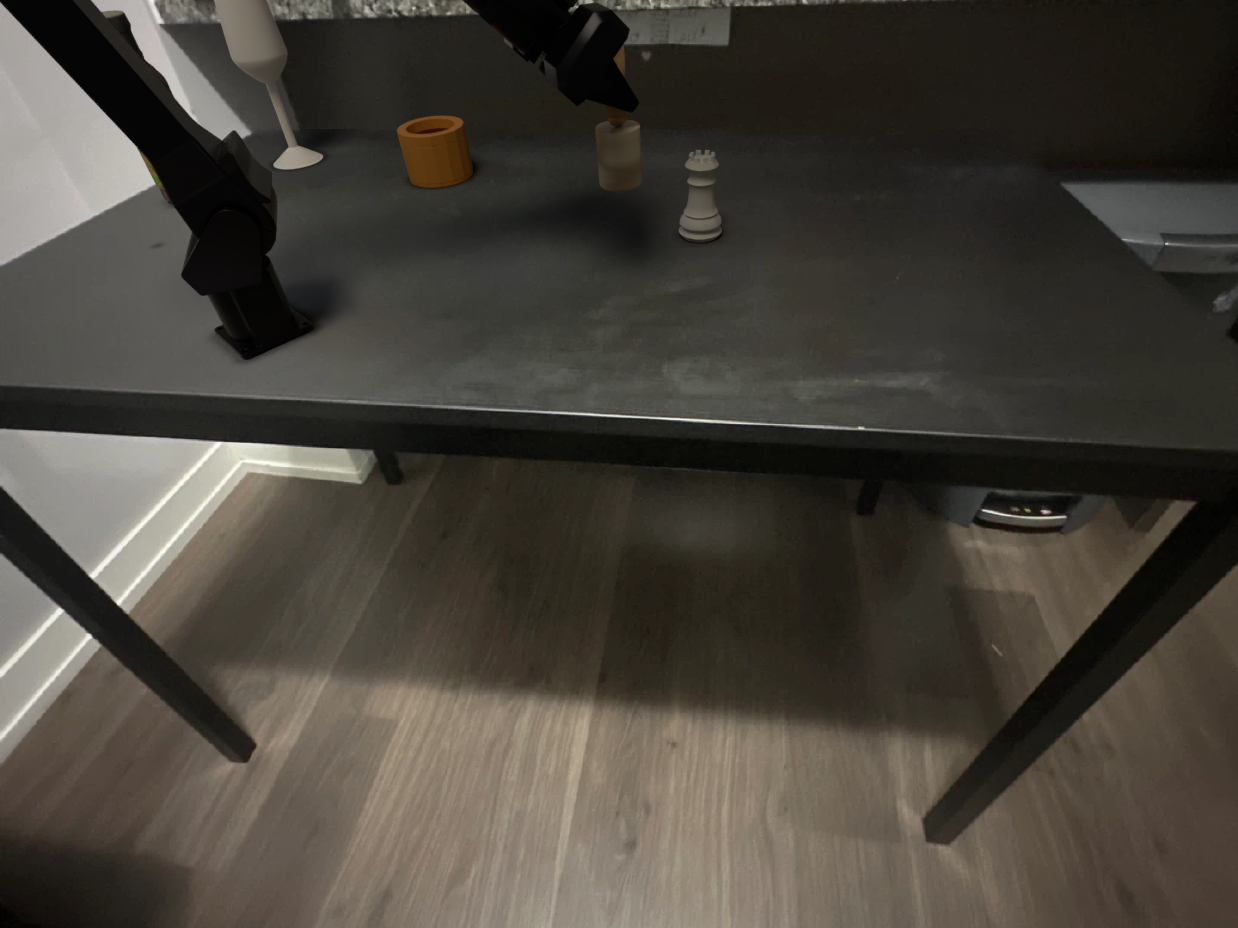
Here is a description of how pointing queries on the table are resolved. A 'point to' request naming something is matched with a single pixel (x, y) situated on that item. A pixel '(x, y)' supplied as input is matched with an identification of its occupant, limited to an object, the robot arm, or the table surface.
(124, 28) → the sauce bottle
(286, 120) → the champagne flute
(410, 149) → the orange cylindrical pot
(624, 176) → the brush
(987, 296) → the table surface
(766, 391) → the table surface
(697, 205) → the rook chess piece
